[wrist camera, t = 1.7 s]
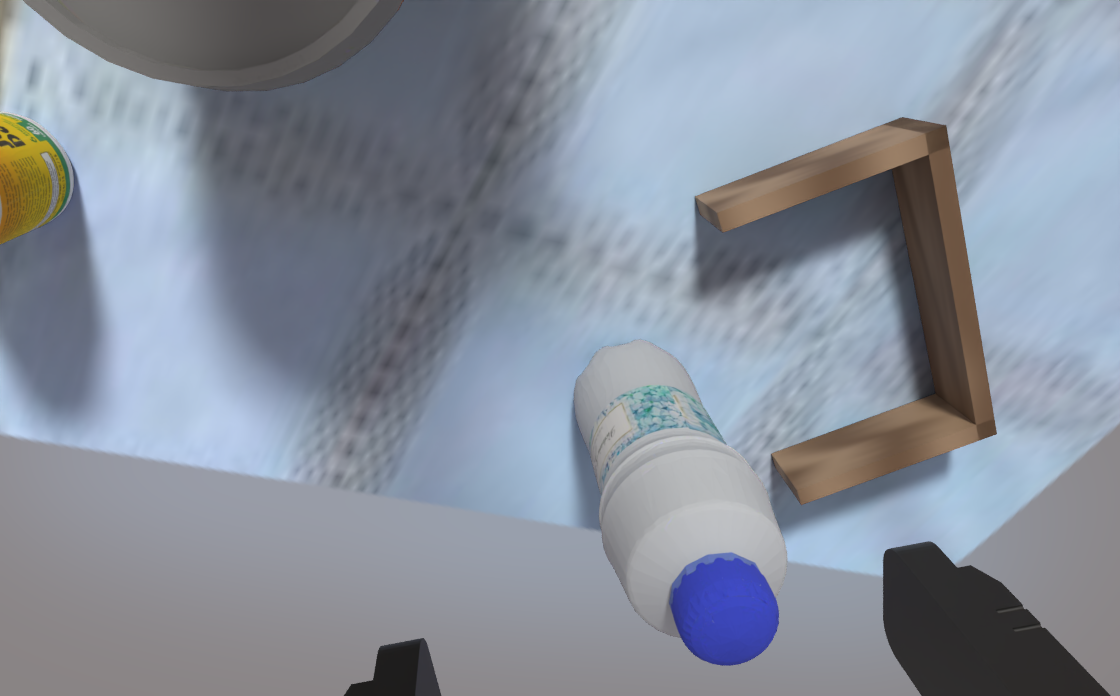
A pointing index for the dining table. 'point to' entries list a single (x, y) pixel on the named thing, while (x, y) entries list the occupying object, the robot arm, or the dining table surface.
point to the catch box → (939, 288)
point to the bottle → (679, 506)
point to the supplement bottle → (30, 176)
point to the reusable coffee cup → (222, 37)
